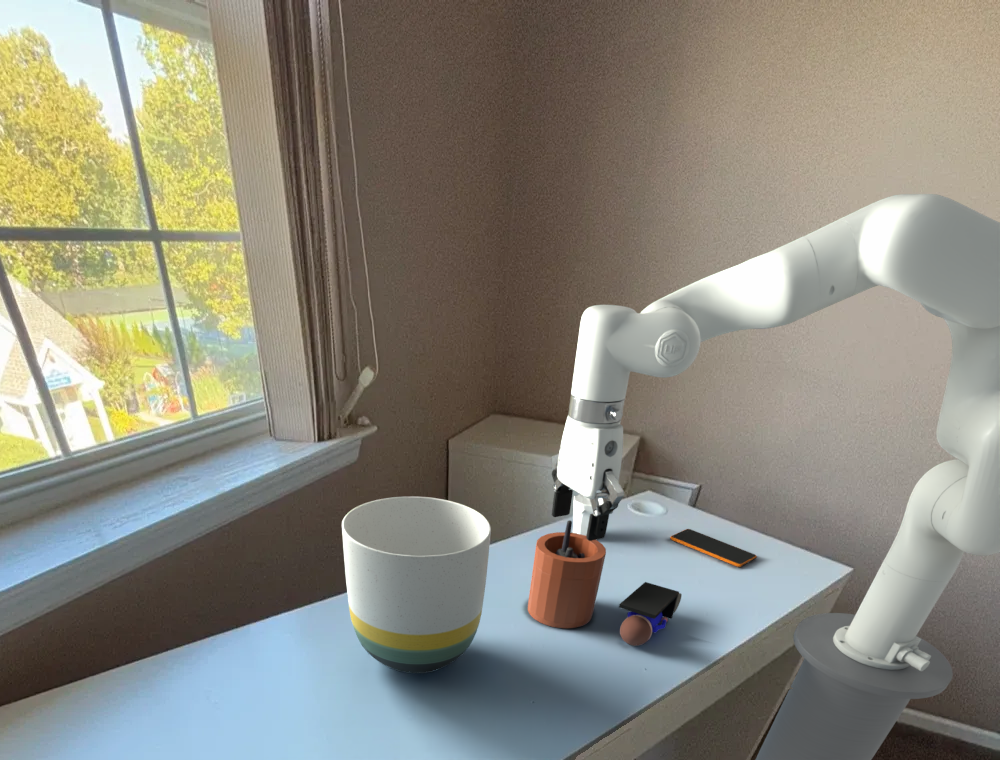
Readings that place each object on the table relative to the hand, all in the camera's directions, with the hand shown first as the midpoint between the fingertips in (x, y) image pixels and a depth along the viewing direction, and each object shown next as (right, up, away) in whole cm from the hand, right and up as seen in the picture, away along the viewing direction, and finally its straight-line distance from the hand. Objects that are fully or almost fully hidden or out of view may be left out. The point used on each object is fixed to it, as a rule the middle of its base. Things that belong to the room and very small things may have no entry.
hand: (577, 526), depth 100 cm
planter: (-25, -21, -3) cm, 33 cm away
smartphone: (+35, +5, +33) cm, 48 cm away
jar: (-1, -12, +10) cm, 15 cm away
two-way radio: (-1, -11, +9) cm, 15 cm away
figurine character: (+12, -16, +7) cm, 21 cm away
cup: (+7, +8, +34) cm, 35 cm away
